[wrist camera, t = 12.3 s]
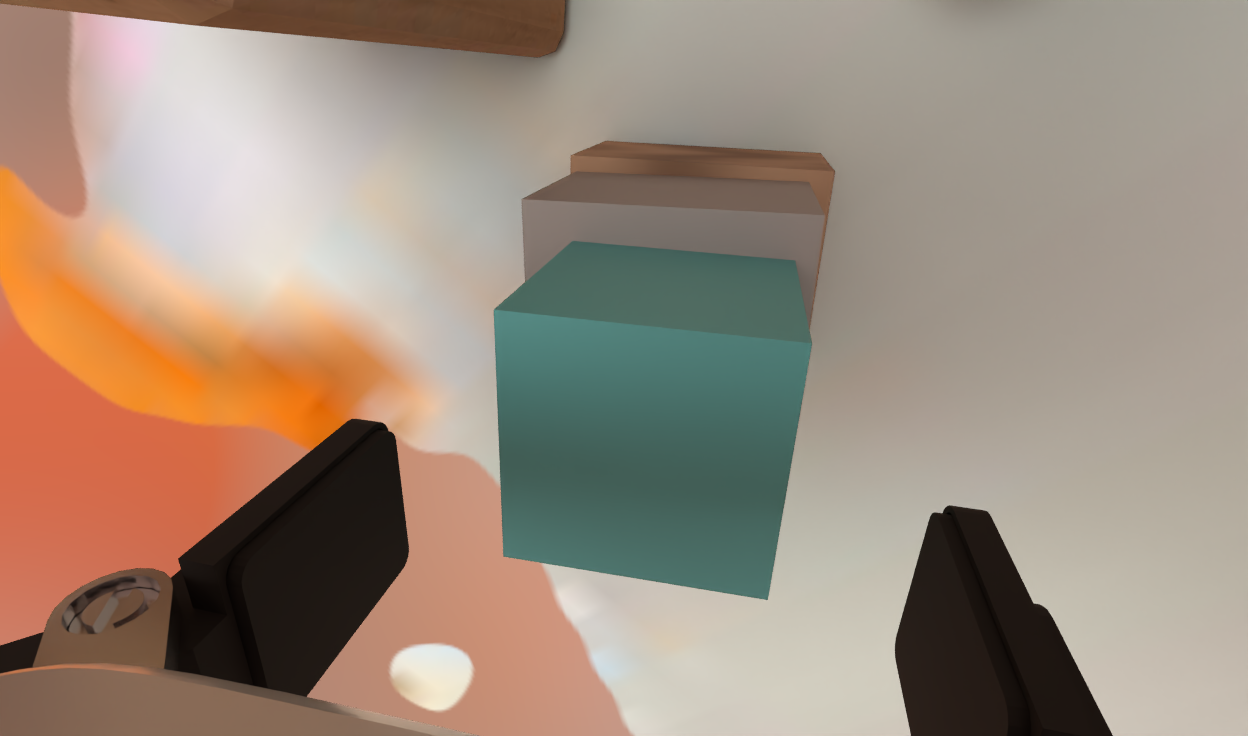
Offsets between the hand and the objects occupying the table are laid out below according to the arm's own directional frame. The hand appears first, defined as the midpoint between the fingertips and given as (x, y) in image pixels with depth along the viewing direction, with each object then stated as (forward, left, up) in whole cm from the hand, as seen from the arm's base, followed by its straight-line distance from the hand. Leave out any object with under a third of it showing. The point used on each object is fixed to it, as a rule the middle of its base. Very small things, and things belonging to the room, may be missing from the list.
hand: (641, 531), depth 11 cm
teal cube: (0, 0, -8) cm, 8 cm away
